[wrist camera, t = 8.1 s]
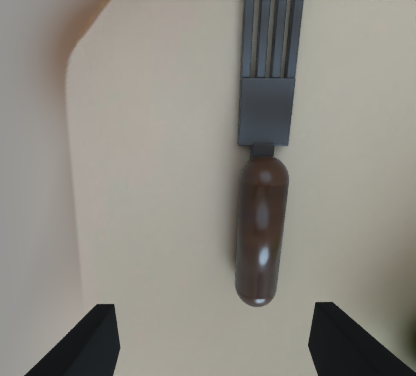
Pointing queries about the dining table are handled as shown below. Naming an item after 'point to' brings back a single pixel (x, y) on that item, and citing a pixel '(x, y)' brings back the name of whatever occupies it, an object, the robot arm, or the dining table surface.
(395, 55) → the dining table surface
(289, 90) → the fork
